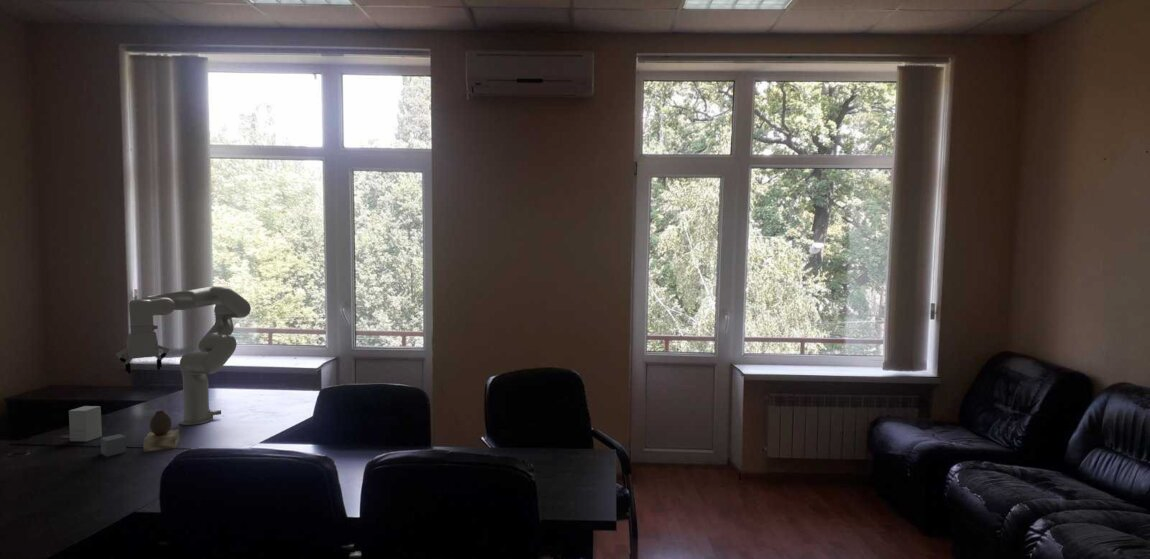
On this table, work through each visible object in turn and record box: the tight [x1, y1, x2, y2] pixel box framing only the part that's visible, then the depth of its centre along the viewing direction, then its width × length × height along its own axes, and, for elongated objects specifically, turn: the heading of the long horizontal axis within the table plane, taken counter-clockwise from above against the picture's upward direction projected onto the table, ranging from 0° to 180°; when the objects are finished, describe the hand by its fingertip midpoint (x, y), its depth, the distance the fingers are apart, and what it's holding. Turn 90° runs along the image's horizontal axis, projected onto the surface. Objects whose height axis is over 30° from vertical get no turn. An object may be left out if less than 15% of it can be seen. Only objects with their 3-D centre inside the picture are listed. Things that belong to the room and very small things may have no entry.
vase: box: [149, 410, 172, 435], centre depth 227 cm, size 7×7×9 cm
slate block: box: [100, 433, 127, 457], centre depth 219 cm, size 6×6×6 cm
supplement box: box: [68, 405, 103, 442], centre depth 235 cm, size 7×7×13 cm
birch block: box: [142, 428, 180, 453], centre depth 227 cm, size 10×10×5 cm
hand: (144, 371), depth 236 cm, fingers open, 9 cm apart
